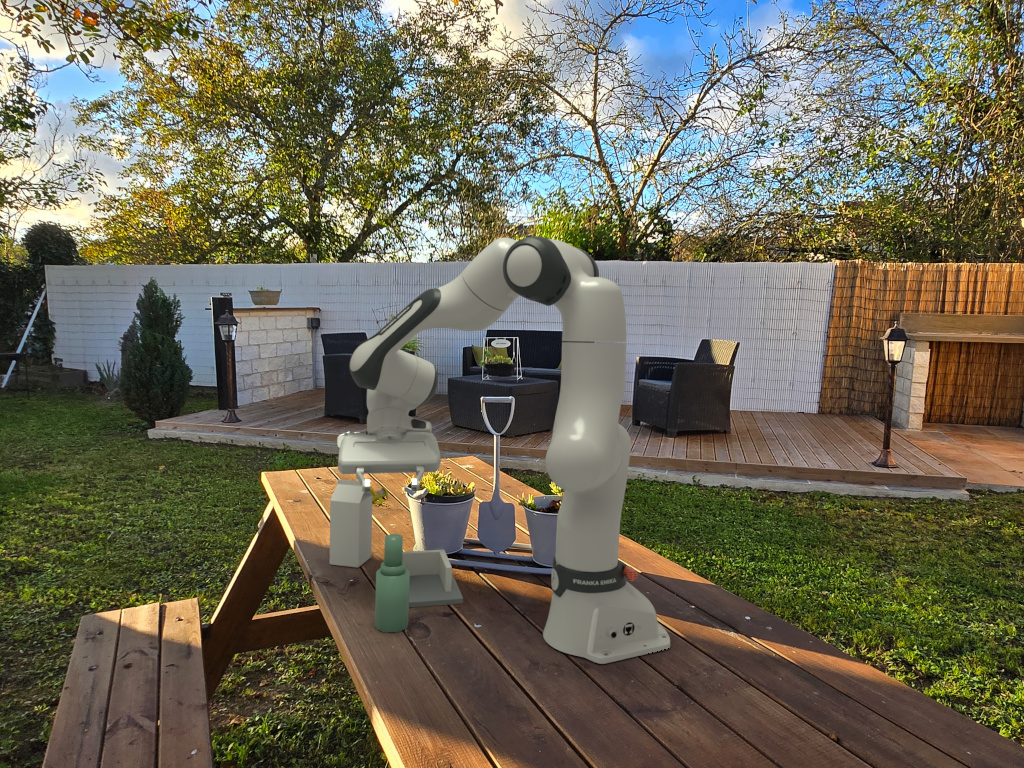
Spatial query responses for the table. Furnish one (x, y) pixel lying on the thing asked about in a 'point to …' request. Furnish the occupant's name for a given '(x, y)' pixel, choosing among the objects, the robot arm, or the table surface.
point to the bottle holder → (431, 579)
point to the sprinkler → (379, 495)
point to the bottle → (392, 588)
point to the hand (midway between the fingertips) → (391, 489)
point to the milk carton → (350, 524)
